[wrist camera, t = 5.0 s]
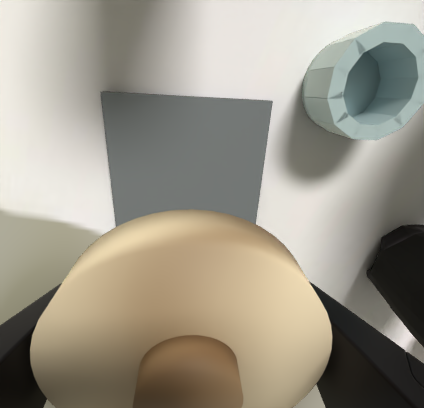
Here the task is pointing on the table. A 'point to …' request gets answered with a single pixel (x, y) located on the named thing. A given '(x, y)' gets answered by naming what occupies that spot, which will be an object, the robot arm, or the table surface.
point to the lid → (182, 319)
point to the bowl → (367, 81)
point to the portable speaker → (403, 276)
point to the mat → (185, 153)
